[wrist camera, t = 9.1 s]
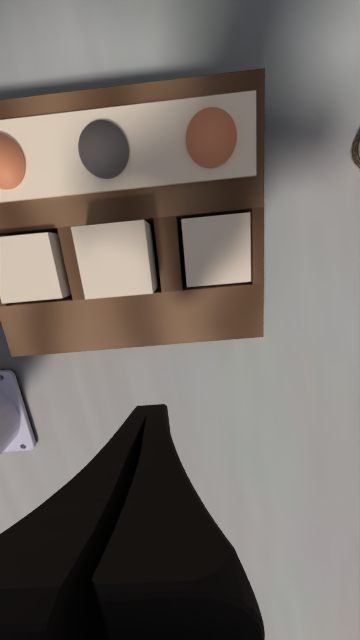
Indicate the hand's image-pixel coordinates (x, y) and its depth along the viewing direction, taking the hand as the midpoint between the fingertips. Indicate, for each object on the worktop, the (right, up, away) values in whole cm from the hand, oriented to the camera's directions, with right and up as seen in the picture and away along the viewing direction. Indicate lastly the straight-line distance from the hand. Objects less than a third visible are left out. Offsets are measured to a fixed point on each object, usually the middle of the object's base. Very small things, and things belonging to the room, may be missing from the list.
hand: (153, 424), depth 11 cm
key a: (-9, +9, +7) cm, 14 cm away
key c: (+3, +10, +7) cm, 12 cm away
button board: (-3, +11, +7) cm, 13 cm away
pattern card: (-3, +14, +3) cm, 15 cm away
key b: (-3, +9, +6) cm, 11 cm away
